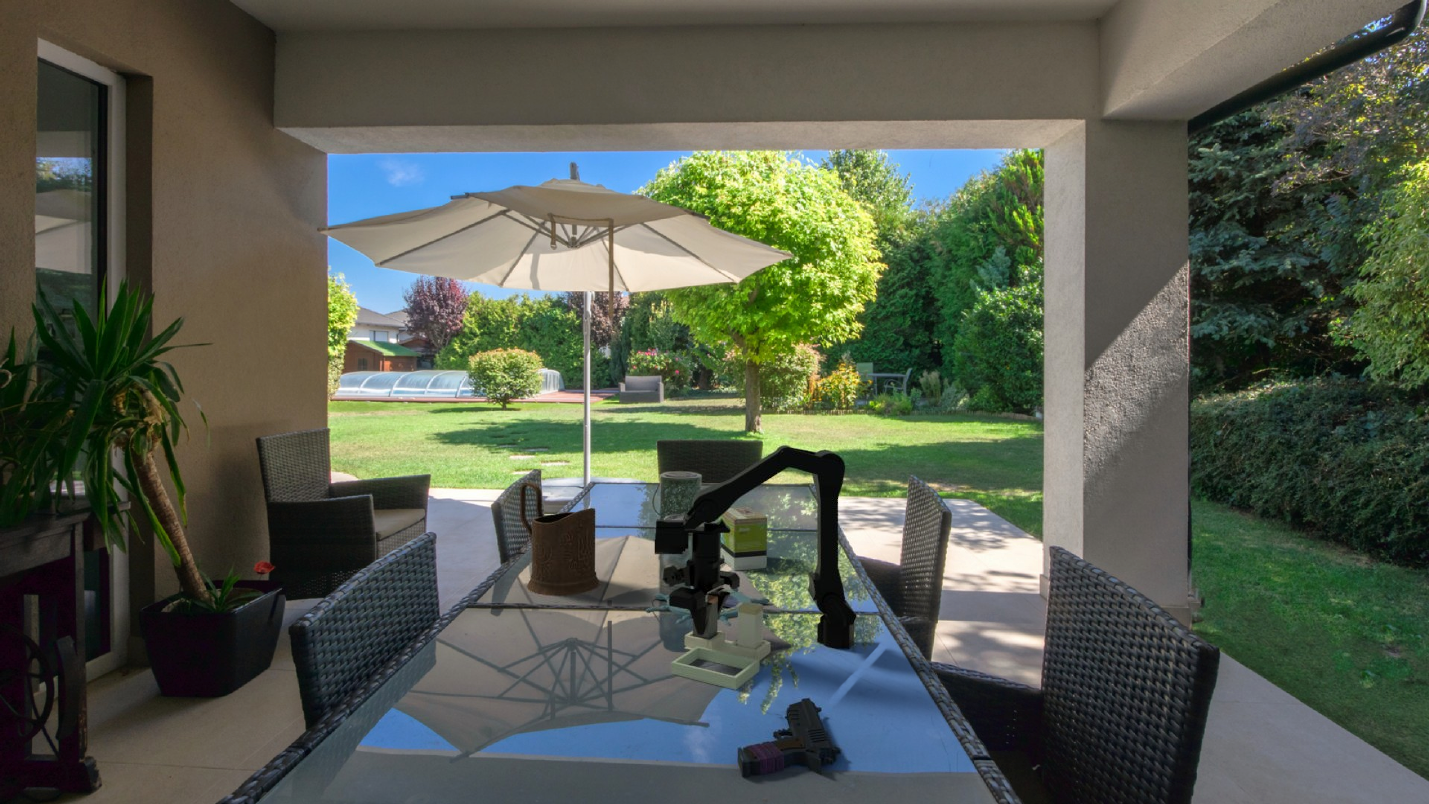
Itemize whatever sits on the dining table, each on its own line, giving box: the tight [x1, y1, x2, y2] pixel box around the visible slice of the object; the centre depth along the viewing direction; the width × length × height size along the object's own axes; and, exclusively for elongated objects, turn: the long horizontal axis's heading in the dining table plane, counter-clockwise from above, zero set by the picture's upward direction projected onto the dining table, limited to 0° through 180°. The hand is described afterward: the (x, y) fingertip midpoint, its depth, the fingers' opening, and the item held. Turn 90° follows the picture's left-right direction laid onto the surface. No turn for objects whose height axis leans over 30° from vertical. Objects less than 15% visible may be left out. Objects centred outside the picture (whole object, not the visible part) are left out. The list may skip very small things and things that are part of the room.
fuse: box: [737, 602, 764, 650], centre depth 146 cm, size 4×4×9 cm
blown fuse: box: [692, 595, 719, 640], centre depth 151 cm, size 4×4×9 cm
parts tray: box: [670, 646, 760, 691], centre depth 138 cm, size 13×9×3 cm
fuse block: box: [684, 629, 772, 662], centre depth 149 cm, size 16×8×3 cm, turn 61°
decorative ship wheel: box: [645, 586, 770, 627], centre depth 176 cm, size 30×3×30 cm
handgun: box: [737, 697, 842, 778], centre depth 115 cm, size 3×20×15 cm
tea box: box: [718, 506, 768, 571], centre depth 217 cm, size 15×10×15 cm, turn 17°
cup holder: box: [519, 482, 601, 597], centre depth 194 cm, size 18×24×25 cm
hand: (705, 631), depth 151 cm, fingers closed on blown fuse, 4 cm apart
